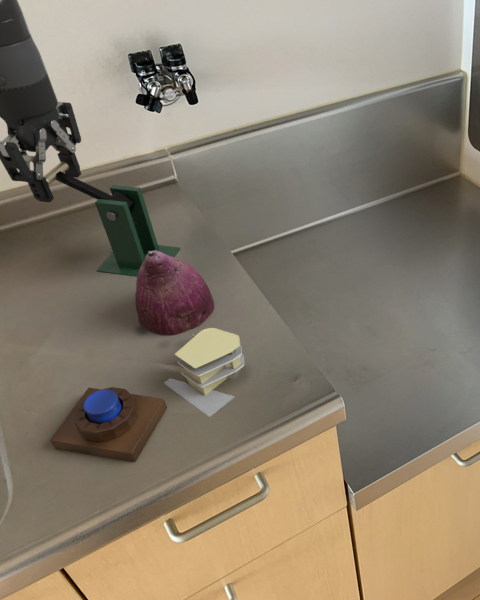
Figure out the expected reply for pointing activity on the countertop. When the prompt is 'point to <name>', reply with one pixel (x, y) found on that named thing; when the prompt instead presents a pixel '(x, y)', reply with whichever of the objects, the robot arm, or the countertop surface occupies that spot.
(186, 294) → the vegetable
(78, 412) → the switch box
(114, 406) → the button
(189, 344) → the yellow layered block
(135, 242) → the switch bracket
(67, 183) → the lever
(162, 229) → the countertop surface
